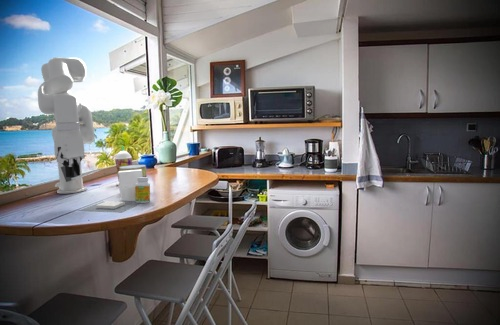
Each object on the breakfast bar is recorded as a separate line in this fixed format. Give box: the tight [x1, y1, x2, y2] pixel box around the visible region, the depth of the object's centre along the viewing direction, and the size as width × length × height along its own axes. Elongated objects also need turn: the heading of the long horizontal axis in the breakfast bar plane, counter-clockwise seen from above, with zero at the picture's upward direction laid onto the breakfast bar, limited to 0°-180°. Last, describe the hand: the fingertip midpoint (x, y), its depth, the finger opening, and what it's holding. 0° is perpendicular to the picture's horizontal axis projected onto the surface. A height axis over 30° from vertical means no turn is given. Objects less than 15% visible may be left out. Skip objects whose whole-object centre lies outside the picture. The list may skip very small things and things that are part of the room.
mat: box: [77, 201, 143, 214], centre depth 118 cm, size 18×13×1 cm
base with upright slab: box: [117, 169, 142, 202], centre depth 130 cm, size 9×9×12 cm
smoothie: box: [114, 145, 133, 182], centre depth 166 cm, size 8×8×20 cm
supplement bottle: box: [134, 176, 151, 204], centre depth 124 cm, size 5×5×10 cm
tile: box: [96, 200, 126, 209], centre depth 118 cm, size 1×6×8 cm
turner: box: [61, 163, 103, 182], centre depth 120 cm, size 14×5×6 cm, turn 75°
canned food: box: [119, 164, 148, 177], centre depth 143 cm, size 11×11×12 cm
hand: (73, 175), depth 121 cm, fingers closed on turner
